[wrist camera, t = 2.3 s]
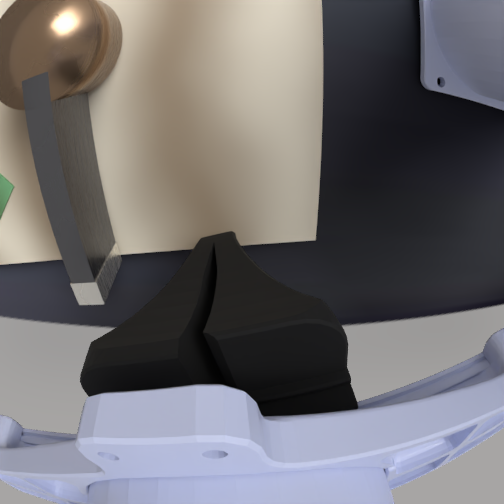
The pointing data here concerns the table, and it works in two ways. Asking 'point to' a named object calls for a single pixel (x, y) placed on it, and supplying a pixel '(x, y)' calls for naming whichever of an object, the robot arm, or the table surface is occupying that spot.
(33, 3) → the bronze ball with handle
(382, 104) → the table surface
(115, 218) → the board
